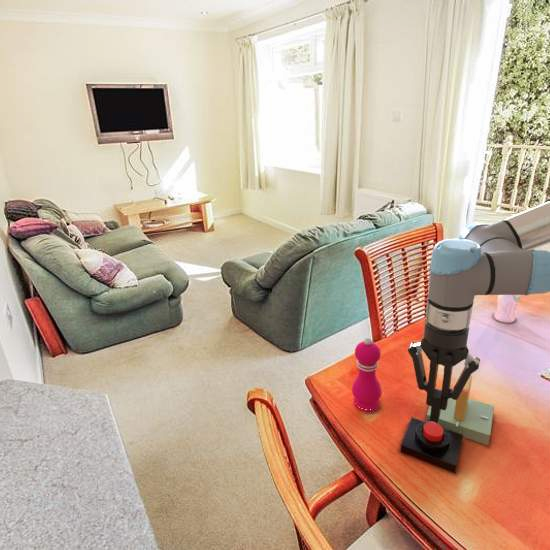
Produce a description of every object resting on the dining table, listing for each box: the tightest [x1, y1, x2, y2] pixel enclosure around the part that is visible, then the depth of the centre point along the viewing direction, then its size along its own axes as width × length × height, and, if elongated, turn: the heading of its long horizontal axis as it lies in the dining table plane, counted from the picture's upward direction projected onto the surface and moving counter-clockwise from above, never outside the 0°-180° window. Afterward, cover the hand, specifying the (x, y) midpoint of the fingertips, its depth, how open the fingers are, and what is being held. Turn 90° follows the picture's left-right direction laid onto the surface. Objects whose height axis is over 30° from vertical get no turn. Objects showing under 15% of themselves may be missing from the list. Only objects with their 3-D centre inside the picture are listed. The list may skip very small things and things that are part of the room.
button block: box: [400, 417, 464, 474], centre depth 82 cm, size 11×9×4 cm
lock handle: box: [454, 374, 473, 421], centre depth 86 cm, size 7×2×8 cm, turn 147°
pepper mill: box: [351, 336, 382, 413], centre depth 92 cm, size 7×7×20 cm
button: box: [423, 422, 444, 442], centre depth 81 cm, size 4×4×2 cm
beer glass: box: [493, 295, 523, 324], centre depth 123 cm, size 7×7×15 cm
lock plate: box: [425, 398, 495, 446], centre depth 88 cm, size 13×11×3 cm
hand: (434, 417), depth 79 cm, fingers closed
